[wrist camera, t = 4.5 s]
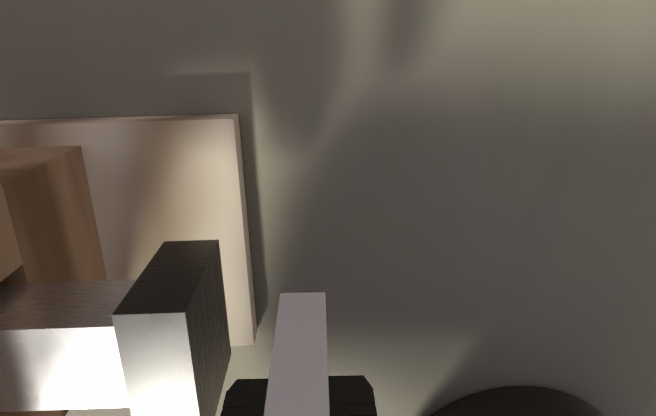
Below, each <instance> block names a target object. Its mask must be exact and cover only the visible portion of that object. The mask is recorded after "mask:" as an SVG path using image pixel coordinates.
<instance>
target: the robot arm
mask: <svg viewBox="0 0 656 416" xmlns="http://www.w3.org/2000/svg"><path fill="white" fill-rule="evenodd" d="M221 416H377V412H376V406H375V399H374V393H373V388H372V386H371V385H370V384H369V382H368V381H367V380H366V378H365V377H364V376H363V375H360V376H328V353H327V324H326V294H325V292H312V293H280V298H279V306H278V313H277V320H276V328H275V335H274V343H273V350H272V357H271V365H270V372H269V379H237V380H236V381H235V382H234V384H233V385H232V386H231V387H230V389H229V390H228V391H227V392H226V396H225V400H224V404H223V410H222V412H221ZM432 416H603V415H602V414H601V413H600V412H599V411H597V410H596V409H595V408H593V407H592V406H591V405H589V404H587V403H586V402H584V401H582V400H580V399H578V398H576V397H573V396H571V395H568V394H565V393H562V392H558V391H554V390H549V389H543V388H533V387H513V388H503V389H496V390H491V391H486V392H482V393H479V394H475V395H472V396H469V397H467V398H464V399H461V400H459V401H457V402H455V403H452V404H451V405H449V406H447V407H445V408H443V409H441V410H440V411H438V412H437V413H435V414H434V415H432Z"/></svg>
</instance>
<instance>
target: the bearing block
mask: <svg viewBox="0 0 656 416" xmlns="http://www.w3.org/2000/svg"><path fill="white" fill-rule="evenodd" d="M190 240H219V247H220V256H221V265H222V274H223V283H224V292H225V301H226V311H227V320H228V329H229V338H230V346H253V345H254V343H255V338H256V333H257V322H256V310H255V299H254V287H253V276H252V264H251V253H250V241H249V230H248V218H247V206H246V195H245V183H244V172H243V160H242V149H241V137H240V126H239V114H238V113H236V114H202V115H168V116H134V117H100V118H67V119H33V120H0V284H10V283H40V282H70V281H100V280H130V279H138V277H139V276H140V274H141V273H142V272H143V270H144V269H145V267H146V266H147V265H148V263H149V262H150V260H151V259H152V258H153V256H154V255H155V253H156V252H157V251H158V249H159V248H160V246H161V245H162V244H163V242H164V241H190ZM67 412H68V410H45V411H18V412H0V416H65V415H66V414H67Z"/></svg>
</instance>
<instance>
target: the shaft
mask: <svg viewBox="0 0 656 416" xmlns="http://www.w3.org/2000/svg"><path fill="white" fill-rule="evenodd" d="M230 357H231V347H230V338H229V329H228V320H227V311H226V301H225V292H224V283H223V274H222V265H221V256H220V247H219V240H190V241H164V242H163V244H162V245H161V246H160V248H159V249H158V251H157V252H156V253H155V255H154V256H153V258H152V259H151V260H150V262H149V263H148V265H147V266H146V267H145V269H144V270H143V272H142V273H141V274H140V276H139V277H138V279H130V280H100V281H70V282H40V283H10V284H0V412H18V411H45V410H72V409H99V408H127V407H130V410H131V415H132V416H215V414H216V410H217V406H218V402H219V399H220V395H221V391H222V387H223V383H224V380H225V376H226V372H227V368H228V364H229V360H230Z"/></svg>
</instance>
